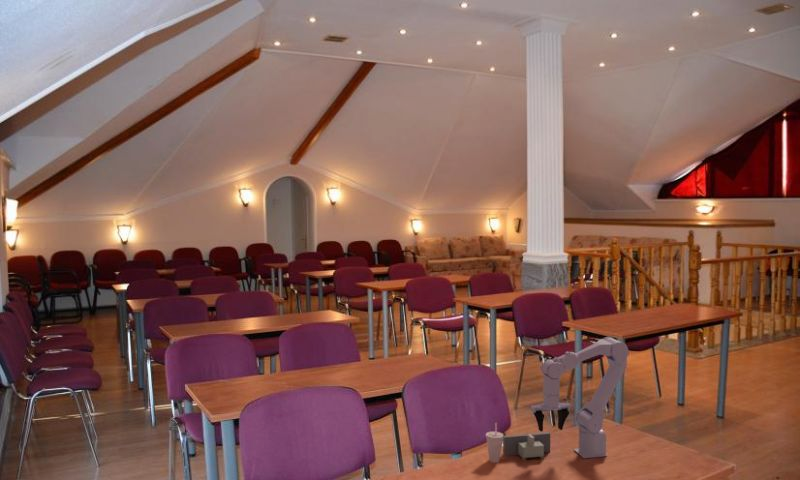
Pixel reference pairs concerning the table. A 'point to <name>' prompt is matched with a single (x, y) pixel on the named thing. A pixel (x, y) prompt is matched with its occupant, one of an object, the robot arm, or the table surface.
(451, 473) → the table surface
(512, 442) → the wall board
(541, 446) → the grey block
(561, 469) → the table surface
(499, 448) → the smoothie
